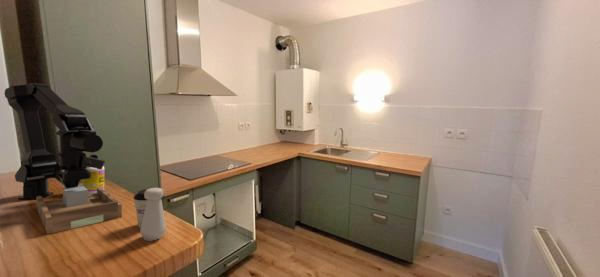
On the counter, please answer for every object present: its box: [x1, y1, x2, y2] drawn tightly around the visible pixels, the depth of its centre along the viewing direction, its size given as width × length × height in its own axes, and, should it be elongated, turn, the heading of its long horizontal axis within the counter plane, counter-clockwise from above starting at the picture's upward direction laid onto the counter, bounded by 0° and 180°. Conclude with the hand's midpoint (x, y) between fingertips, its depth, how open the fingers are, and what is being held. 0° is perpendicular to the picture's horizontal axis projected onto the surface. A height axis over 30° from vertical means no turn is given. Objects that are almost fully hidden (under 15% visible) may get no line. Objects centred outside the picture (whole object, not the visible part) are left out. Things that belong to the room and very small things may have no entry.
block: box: [62, 185, 88, 207], centre depth 79 cm, size 6×5×4 cm
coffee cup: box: [133, 188, 148, 229], centre depth 71 cm, size 7×7×10 cm
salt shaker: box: [139, 187, 167, 242], centre depth 64 cm, size 6×6×13 cm
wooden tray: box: [35, 187, 123, 235], centre depth 76 cm, size 24×16×5 cm, turn 51°
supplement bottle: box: [81, 165, 105, 194], centre depth 96 cm, size 7×7×13 cm
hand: (72, 195), depth 82 cm, fingers closed
